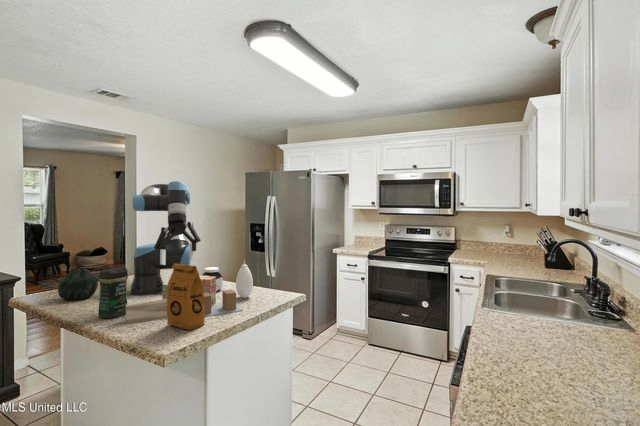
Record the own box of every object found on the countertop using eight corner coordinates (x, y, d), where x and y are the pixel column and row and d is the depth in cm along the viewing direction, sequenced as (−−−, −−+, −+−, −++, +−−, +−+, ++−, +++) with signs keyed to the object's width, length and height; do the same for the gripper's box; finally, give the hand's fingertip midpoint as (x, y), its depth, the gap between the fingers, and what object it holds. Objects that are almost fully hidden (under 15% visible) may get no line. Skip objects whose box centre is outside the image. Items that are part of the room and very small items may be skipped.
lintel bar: (125, 320, 124) (125, 304, 124) (177, 312, 134) (177, 297, 134) (126, 323, 121) (126, 307, 121) (179, 315, 131) (179, 299, 131)
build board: (191, 311, 135) (191, 293, 135) (235, 304, 145) (235, 287, 145) (196, 318, 127) (196, 299, 127) (242, 310, 136) (242, 292, 136)
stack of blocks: (161, 306, 142) (161, 277, 142) (170, 302, 148) (169, 274, 148) (210, 308, 140) (210, 279, 139) (216, 303, 146) (216, 275, 146)
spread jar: (217, 288, 173) (216, 266, 172) (228, 292, 165) (228, 269, 164) (194, 292, 164) (194, 269, 164) (205, 297, 156) (205, 272, 156)
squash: (58, 284, 156) (59, 263, 148) (96, 281, 165) (99, 261, 157) (57, 310, 148) (57, 289, 140) (97, 305, 157) (100, 286, 149)
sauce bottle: (254, 298, 154) (254, 259, 153) (237, 300, 150) (237, 261, 150) (250, 294, 161) (250, 257, 160) (234, 296, 157) (234, 258, 157)
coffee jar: (110, 320, 124) (110, 270, 123) (94, 318, 126) (93, 269, 126) (132, 312, 133) (131, 266, 132) (116, 310, 135) (116, 265, 135)
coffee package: (186, 333, 112) (186, 268, 111) (162, 326, 118) (162, 264, 117) (209, 324, 120) (209, 263, 120) (186, 318, 126) (186, 260, 126)
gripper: (145, 218, 146) (144, 265, 139) (198, 206, 142) (200, 254, 136) (156, 222, 153) (156, 268, 146) (207, 211, 150) (209, 258, 143)
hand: (177, 261), depth 141 cm, fingers open, 13 cm apart
